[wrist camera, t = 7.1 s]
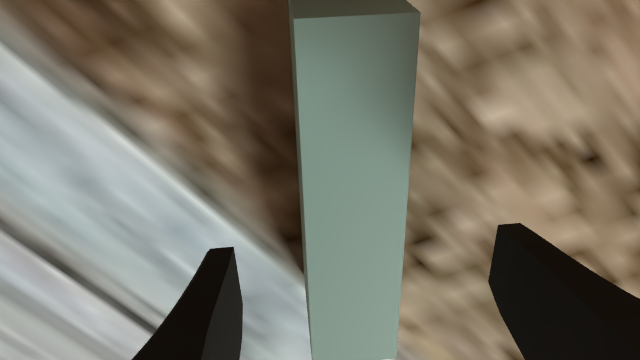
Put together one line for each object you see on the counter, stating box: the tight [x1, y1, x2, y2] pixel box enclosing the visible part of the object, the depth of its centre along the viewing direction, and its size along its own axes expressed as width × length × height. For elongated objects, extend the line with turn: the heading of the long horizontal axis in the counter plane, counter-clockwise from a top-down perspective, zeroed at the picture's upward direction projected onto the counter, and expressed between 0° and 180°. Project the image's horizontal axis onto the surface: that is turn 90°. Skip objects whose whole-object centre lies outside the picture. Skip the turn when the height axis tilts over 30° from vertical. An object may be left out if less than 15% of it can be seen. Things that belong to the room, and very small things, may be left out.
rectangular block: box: [288, 0, 420, 360], centre depth 17 cm, size 3×12×5 cm, turn 2°
